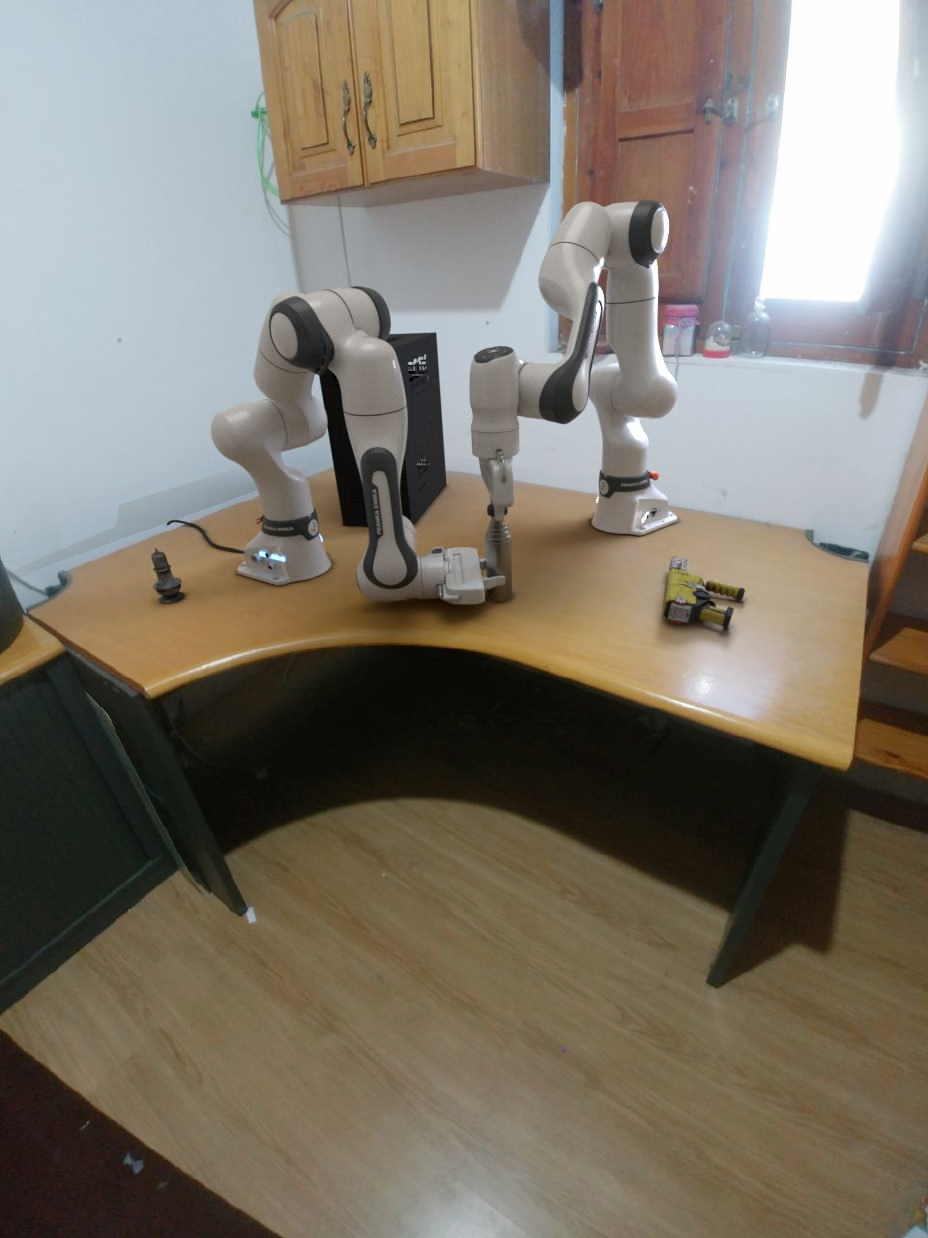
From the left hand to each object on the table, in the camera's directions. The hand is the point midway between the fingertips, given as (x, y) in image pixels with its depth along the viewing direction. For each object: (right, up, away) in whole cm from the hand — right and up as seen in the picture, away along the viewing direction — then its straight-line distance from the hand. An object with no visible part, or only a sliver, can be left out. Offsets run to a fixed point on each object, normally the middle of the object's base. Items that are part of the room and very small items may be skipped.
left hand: (503, 572), depth 125 cm
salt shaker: (-73, -5, +10) cm, 74 cm away
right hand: (-2, +11, -6) cm, 13 cm away
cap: (-2, +12, -7) cm, 14 cm away
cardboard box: (-28, +25, +57) cm, 69 cm away
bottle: (-1, -5, +3) cm, 6 cm away
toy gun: (+40, -6, -4) cm, 41 cm away
